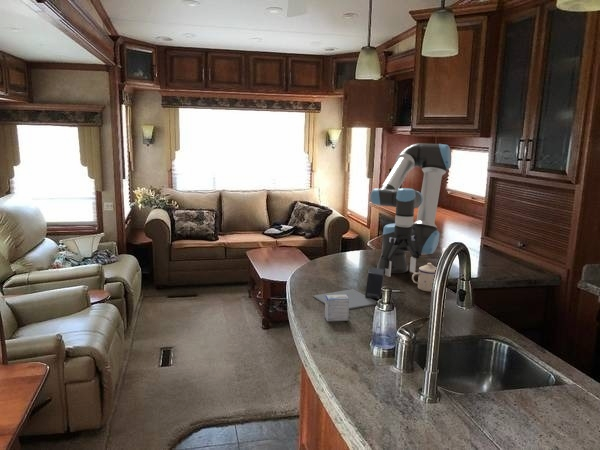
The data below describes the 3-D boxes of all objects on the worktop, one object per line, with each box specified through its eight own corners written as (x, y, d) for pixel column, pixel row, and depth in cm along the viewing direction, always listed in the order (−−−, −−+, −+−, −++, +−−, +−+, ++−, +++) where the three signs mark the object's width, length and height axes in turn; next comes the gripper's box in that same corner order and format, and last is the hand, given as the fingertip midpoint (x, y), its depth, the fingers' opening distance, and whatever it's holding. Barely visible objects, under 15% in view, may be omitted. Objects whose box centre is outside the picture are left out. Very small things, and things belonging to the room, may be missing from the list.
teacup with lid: (434, 285, 215) (436, 260, 213) (441, 292, 206) (443, 266, 204) (408, 285, 214) (409, 260, 212) (414, 292, 205) (416, 266, 203)
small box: (380, 299, 193) (383, 274, 192) (364, 297, 195) (367, 272, 193) (381, 292, 204) (384, 268, 202) (366, 290, 205) (368, 266, 203)
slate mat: (353, 290, 205) (353, 289, 205) (378, 304, 190) (379, 302, 189) (313, 296, 196) (313, 295, 196) (336, 311, 180) (336, 310, 180)
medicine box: (345, 316, 176) (346, 294, 174) (348, 321, 172) (349, 298, 170) (324, 317, 175) (325, 294, 173) (327, 322, 170) (328, 299, 169)
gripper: (420, 221, 209) (416, 268, 213) (374, 225, 197) (371, 274, 201) (432, 225, 203) (428, 272, 207) (386, 229, 191) (382, 279, 195)
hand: (400, 274), depth 204 cm, fingers open, 13 cm apart
